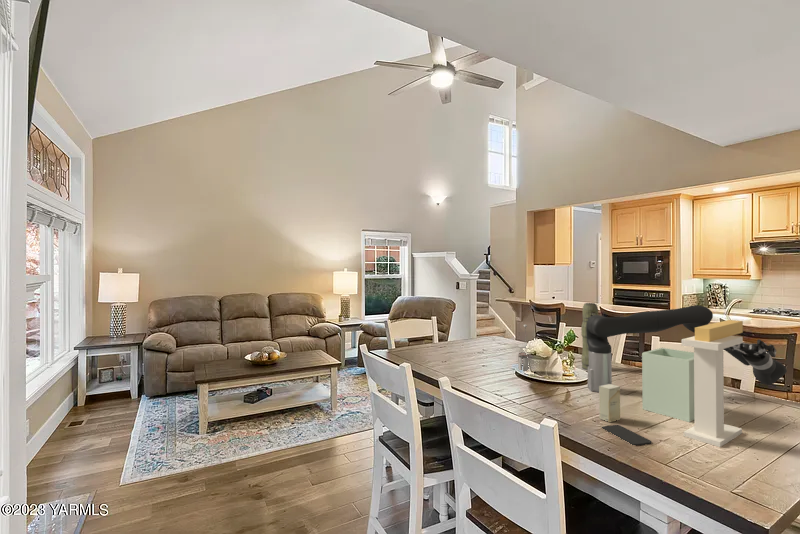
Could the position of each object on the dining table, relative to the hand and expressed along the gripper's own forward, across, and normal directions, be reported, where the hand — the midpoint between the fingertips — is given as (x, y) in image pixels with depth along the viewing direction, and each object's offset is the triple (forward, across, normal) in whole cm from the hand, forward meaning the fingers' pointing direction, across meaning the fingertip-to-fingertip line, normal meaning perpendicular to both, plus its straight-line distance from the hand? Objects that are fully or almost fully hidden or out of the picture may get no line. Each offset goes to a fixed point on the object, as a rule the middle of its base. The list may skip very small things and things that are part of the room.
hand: (743, 340), depth 151 cm
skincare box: (+22, -27, +46) cm, 57 cm away
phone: (+30, -16, +50) cm, 61 cm away
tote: (-2, -17, +31) cm, 36 cm away
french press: (-1, -87, +32) cm, 93 cm away
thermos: (-30, -71, +15) cm, 79 cm away
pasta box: (+21, 0, +7) cm, 22 cm away
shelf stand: (+10, 0, +38) cm, 39 cm away
